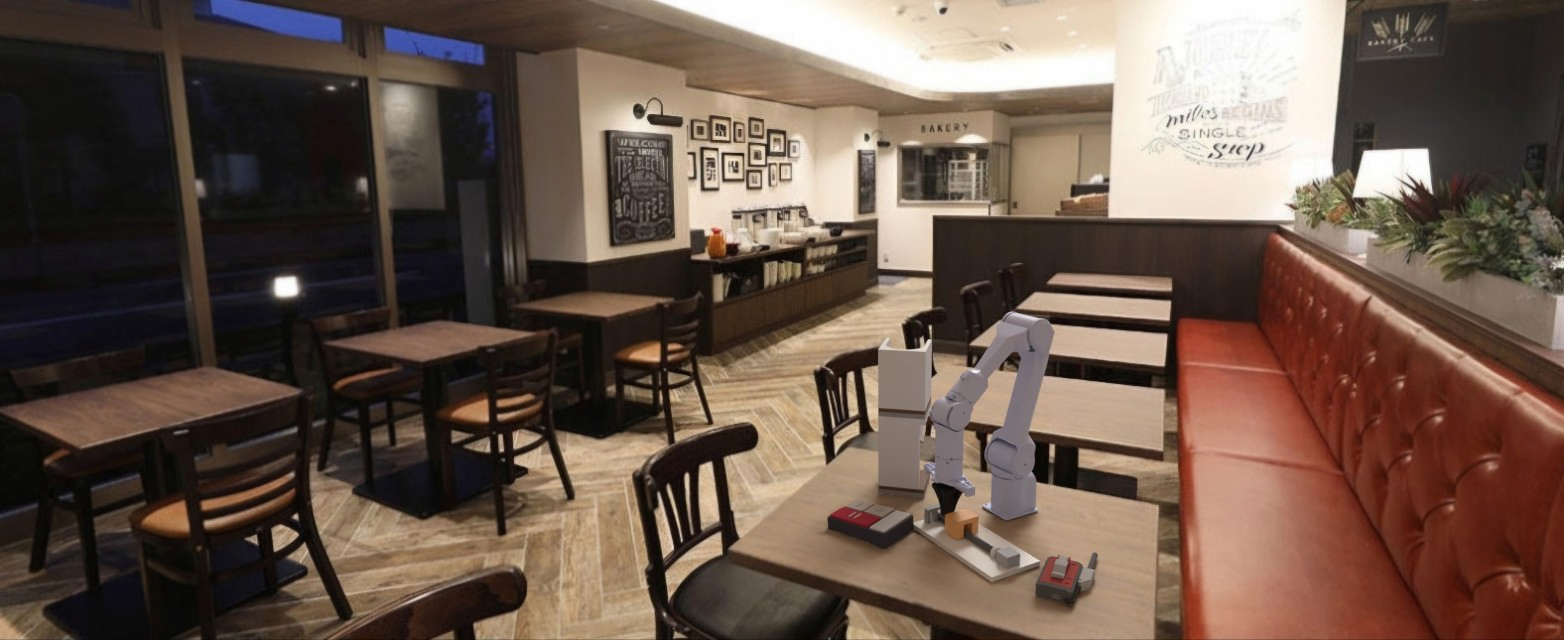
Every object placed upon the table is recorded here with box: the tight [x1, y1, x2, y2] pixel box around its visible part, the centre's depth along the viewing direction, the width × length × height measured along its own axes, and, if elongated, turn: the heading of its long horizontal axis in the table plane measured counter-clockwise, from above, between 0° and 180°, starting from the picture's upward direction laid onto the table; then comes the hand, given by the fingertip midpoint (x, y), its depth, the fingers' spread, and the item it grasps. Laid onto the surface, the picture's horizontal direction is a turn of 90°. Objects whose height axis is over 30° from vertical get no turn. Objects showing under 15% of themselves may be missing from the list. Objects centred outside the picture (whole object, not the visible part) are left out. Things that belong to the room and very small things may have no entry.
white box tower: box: [877, 337, 933, 499], centre depth 186 cm, size 11×11×35 cm
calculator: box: [826, 498, 915, 550], centre depth 169 cm, size 11×4×15 cm
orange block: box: [945, 508, 979, 540], centre depth 163 cm, size 5×4×4 cm
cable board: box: [913, 503, 1041, 583], centre depth 161 cm, size 12×25×4 cm, turn 27°
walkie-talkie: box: [1034, 552, 1099, 606], centre depth 148 cm, size 9×4×20 cm
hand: (947, 515), depth 167 cm, fingers closed
